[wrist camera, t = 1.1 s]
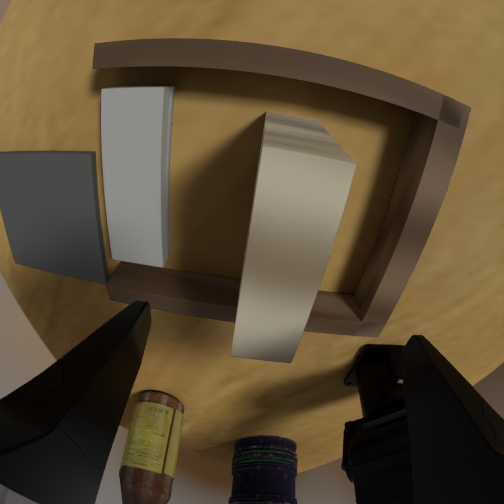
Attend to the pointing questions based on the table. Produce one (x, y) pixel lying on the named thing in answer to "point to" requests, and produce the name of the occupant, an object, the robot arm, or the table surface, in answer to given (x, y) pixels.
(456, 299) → the table surface
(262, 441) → the dark blue cylinder
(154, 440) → the sauce bottle
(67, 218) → the mat
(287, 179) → the pale wooden block
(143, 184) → the offcut top
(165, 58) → the frame
